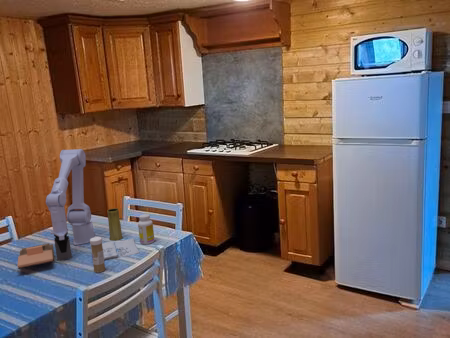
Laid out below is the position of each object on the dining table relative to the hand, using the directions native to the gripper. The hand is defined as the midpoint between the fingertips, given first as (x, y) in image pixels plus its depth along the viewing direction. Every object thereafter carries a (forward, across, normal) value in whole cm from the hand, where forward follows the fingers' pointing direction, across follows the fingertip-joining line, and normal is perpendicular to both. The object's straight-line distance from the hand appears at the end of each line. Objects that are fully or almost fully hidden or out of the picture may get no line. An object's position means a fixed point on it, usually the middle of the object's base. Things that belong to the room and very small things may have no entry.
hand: (63, 250), depth 183 cm
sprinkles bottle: (+3, +22, +12) cm, 25 cm away
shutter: (-1, +5, -11) cm, 12 cm away
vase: (+3, -11, +24) cm, 27 cm away
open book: (+4, +4, +21) cm, 22 cm away
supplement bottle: (+3, +2, +36) cm, 36 cm away
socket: (+3, -8, -11) cm, 14 cm away
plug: (+3, 0, 0) cm, 3 cm away
